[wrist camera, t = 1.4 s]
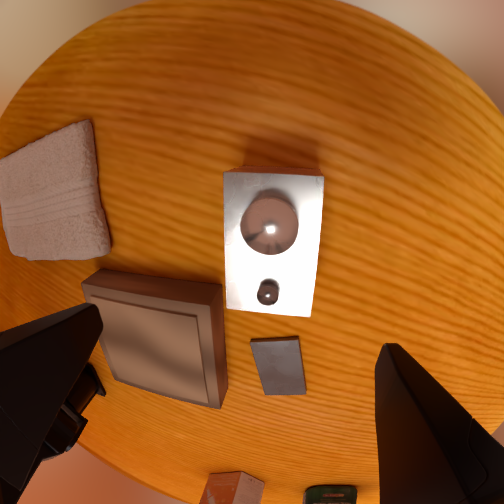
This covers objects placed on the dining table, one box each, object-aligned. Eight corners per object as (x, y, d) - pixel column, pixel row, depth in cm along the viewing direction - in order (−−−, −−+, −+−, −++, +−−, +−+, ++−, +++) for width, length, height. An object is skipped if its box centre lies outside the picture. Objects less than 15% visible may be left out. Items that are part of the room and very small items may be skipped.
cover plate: (306, 386, 25) (306, 394, 24) (266, 387, 26) (265, 395, 25) (298, 332, 22) (297, 340, 21) (252, 335, 23) (249, 342, 22)
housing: (310, 281, 20) (309, 327, 15) (242, 275, 21) (222, 317, 16) (319, 169, 17) (325, 179, 12) (242, 165, 18) (217, 174, 13)
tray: (228, 387, 26) (219, 411, 23) (127, 362, 28) (113, 381, 25) (221, 284, 21) (208, 307, 18) (100, 268, 23) (79, 284, 20)
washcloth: (5, 161, 22) (-13, 166, 19) (99, 114, 18) (74, 113, 16) (23, 251, 26) (6, 261, 24) (120, 248, 23) (99, 262, 20)
